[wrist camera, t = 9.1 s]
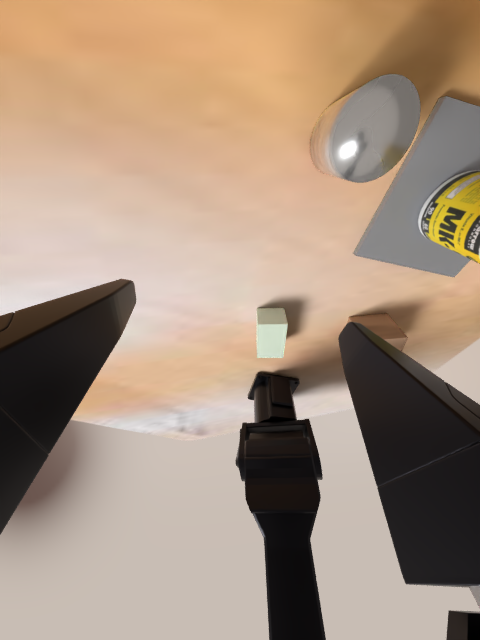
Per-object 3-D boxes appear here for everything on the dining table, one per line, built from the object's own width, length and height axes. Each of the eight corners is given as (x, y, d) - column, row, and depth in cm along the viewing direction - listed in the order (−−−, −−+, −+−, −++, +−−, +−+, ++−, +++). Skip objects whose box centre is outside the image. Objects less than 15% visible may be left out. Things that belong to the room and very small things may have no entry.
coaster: (449, 274, 20) (454, 277, 20) (353, 253, 19) (355, 255, 19) (571, 140, 14) (582, 139, 13) (439, 98, 13) (446, 96, 12)
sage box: (280, 339, 26) (283, 357, 24) (256, 339, 27) (257, 357, 24) (283, 307, 23) (287, 324, 21) (256, 307, 23) (257, 324, 21)
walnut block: (377, 338, 26) (395, 364, 23) (343, 341, 26) (356, 366, 23) (386, 312, 23) (407, 337, 20) (348, 316, 24) (364, 341, 21)
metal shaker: (351, 181, 16) (385, 190, 12) (300, 167, 15) (319, 172, 11) (384, 107, 13) (441, 88, 9) (325, 89, 13) (359, 61, 9)
